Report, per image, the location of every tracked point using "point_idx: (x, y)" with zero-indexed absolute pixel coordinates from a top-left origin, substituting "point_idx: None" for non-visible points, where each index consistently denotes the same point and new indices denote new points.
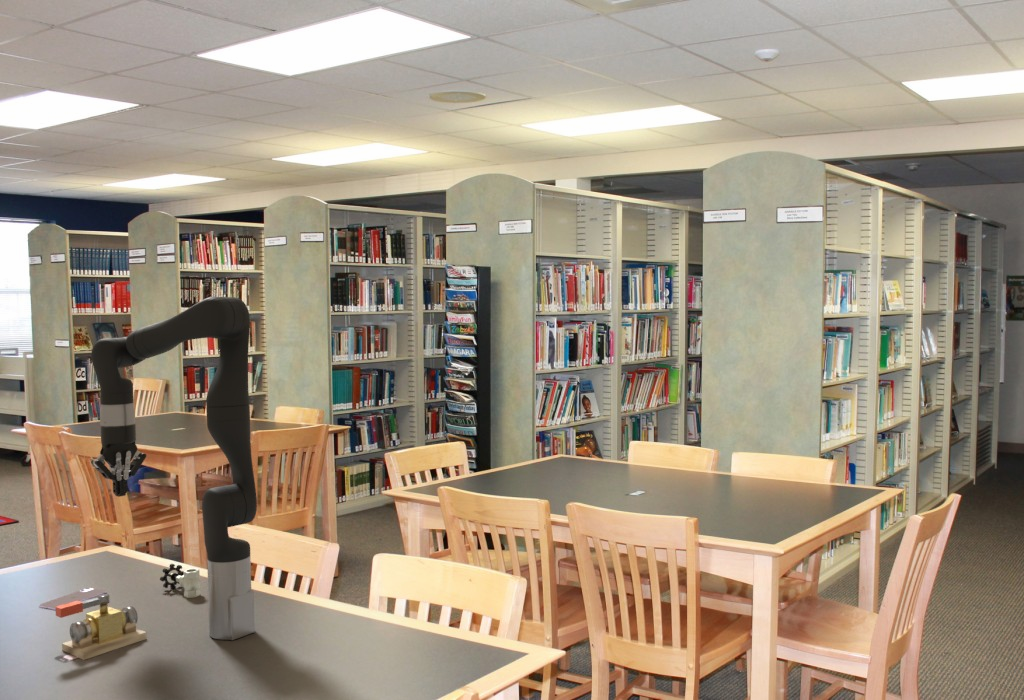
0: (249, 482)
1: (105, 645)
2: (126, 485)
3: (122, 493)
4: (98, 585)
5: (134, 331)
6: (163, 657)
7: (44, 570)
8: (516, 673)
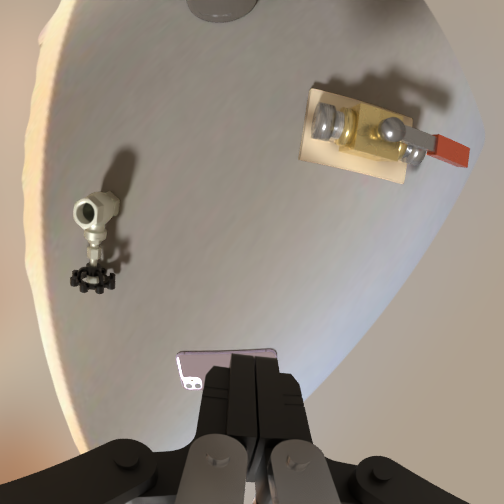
0: None
1: (382, 108)
2: (210, 403)
3: (258, 362)
4: (165, 388)
5: None
6: (346, 18)
7: None
8: None
